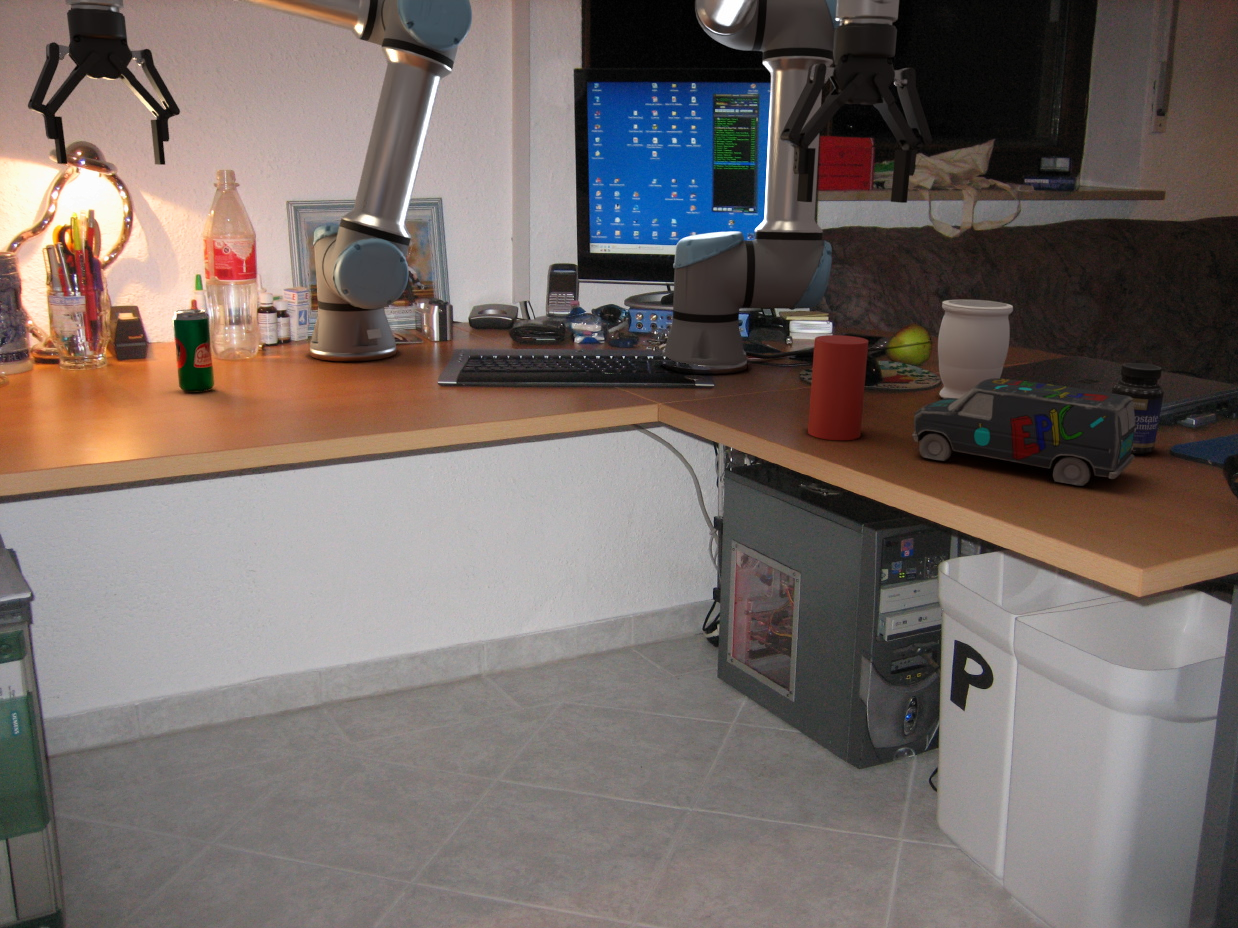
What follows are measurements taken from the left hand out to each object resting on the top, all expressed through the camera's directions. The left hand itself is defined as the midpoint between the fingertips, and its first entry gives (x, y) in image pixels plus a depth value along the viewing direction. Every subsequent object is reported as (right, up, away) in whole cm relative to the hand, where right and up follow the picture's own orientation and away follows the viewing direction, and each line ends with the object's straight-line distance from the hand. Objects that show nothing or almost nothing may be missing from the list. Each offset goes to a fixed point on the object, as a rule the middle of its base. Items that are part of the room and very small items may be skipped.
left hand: (112, 164), depth 159 cm
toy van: (+125, -45, -26) cm, 135 cm away
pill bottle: (+143, -43, -18) cm, 150 cm away
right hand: (+105, -11, -22) cm, 108 cm away
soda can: (+11, -33, +5) cm, 35 cm away
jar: (+130, -34, +9) cm, 135 cm away
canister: (+105, -40, -13) cm, 113 cm away
